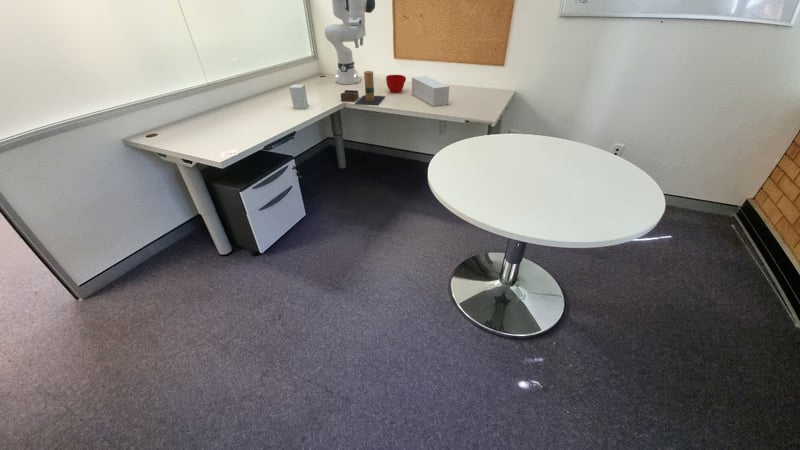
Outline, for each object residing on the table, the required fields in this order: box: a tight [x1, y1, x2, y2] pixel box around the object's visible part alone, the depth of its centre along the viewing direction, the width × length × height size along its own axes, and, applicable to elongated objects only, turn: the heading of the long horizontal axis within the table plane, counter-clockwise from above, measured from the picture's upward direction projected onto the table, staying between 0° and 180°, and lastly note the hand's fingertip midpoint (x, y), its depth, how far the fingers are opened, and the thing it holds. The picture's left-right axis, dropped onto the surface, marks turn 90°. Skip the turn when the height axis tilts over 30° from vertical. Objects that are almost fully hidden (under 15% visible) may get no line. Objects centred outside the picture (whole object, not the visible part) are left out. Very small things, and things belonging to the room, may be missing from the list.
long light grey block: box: [411, 75, 450, 107], centre depth 214 cm, size 32×11×11 cm, turn 23°
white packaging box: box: [289, 84, 309, 110], centre depth 200 cm, size 7×7×13 cm
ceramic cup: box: [385, 74, 407, 94], centre depth 231 cm, size 13×17×10 cm
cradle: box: [340, 89, 360, 103], centre depth 216 cm, size 10×9×5 cm
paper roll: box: [363, 70, 375, 101], centre depth 210 cm, size 17×6×6 cm
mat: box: [354, 94, 386, 106], centre depth 215 cm, size 20×15×1 cm
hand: (359, 46), depth 202 cm, fingers open, 8 cm apart
